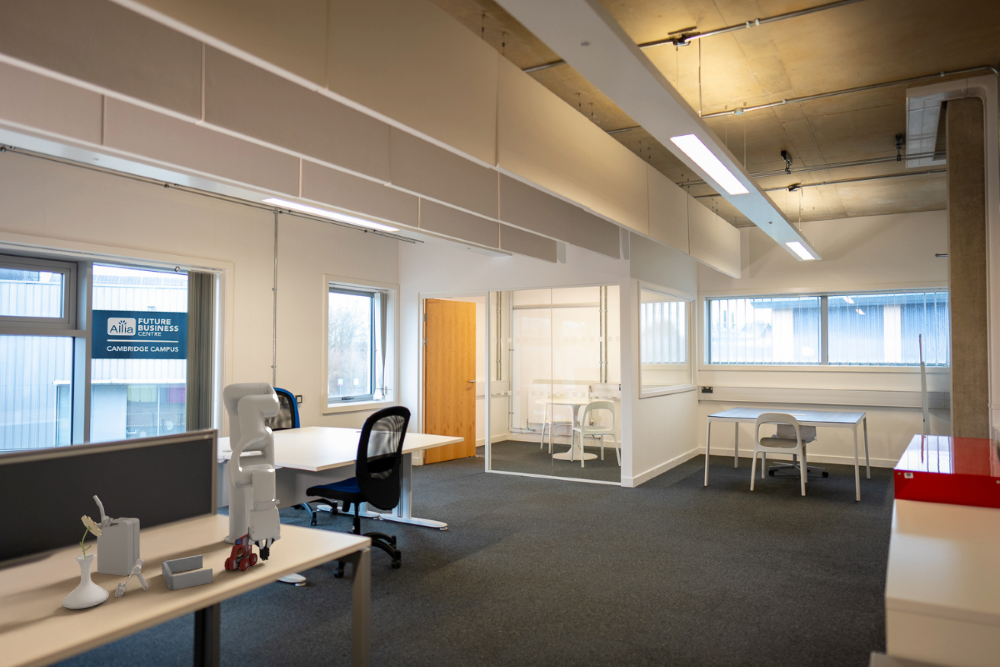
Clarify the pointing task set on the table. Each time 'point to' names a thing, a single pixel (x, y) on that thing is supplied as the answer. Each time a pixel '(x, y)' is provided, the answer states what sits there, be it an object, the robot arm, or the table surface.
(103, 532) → the fuel canister
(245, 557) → the toy fire truck
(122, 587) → the portable electronic device stand
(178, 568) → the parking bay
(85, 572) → the flower in vase
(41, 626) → the table surface
